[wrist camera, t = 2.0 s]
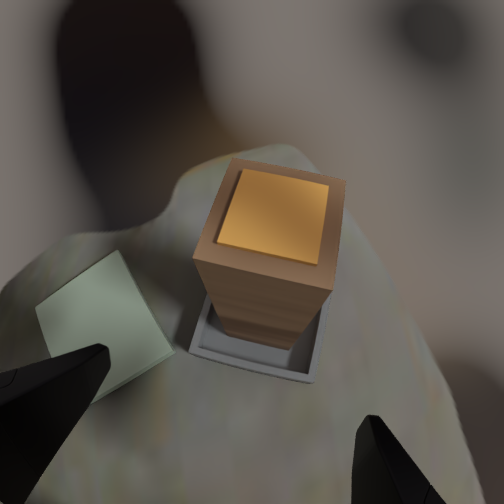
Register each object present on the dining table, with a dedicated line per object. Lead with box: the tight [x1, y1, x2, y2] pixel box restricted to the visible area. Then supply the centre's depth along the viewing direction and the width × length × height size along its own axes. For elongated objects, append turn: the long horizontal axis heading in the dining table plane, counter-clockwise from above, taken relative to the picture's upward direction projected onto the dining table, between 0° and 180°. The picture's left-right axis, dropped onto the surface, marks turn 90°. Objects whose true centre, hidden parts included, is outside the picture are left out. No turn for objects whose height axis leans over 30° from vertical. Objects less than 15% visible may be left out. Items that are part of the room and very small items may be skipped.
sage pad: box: [35, 249, 176, 404], centre depth 21 cm, size 10×10×1 cm
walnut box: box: [192, 158, 346, 351], centre depth 16 cm, size 4×4×13 cm
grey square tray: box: [189, 292, 332, 384], centre depth 21 cm, size 9×9×2 cm
